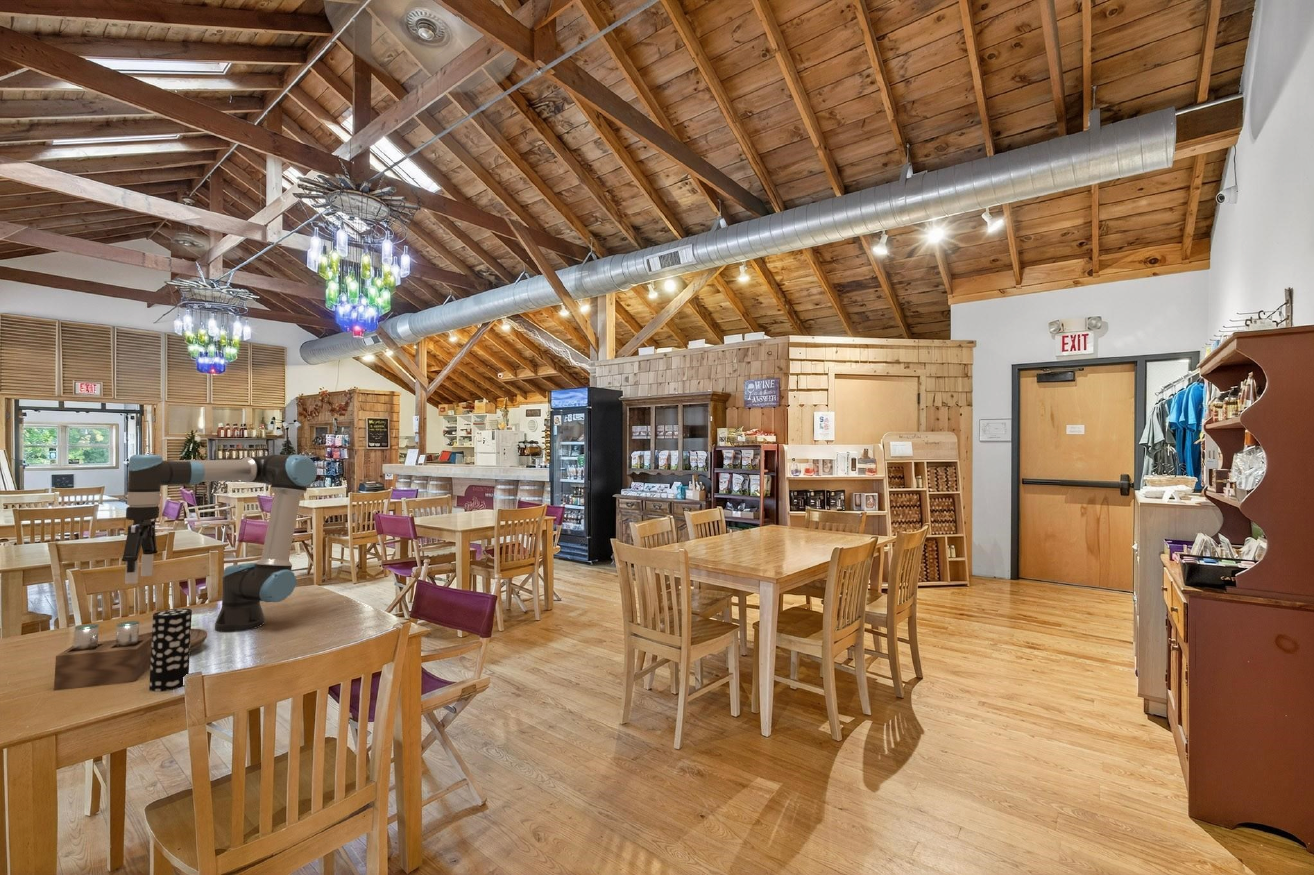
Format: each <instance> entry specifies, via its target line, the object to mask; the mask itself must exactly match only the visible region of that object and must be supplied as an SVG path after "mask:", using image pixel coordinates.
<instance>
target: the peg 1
mask: <svg viewBox="0 0 1314 875" xmlns="http://www.w3.org/2000/svg"><path fill="white" fill-rule="evenodd" d="M99 627H100V624H99V623H88V624H80V625H77V626H75V627H74V640H73V642H74V643H73V645H74V651H86V650H95V649H96V648H98V641H99V629H100V628H99Z"/></svg>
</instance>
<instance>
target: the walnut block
mask: <svg viewBox="0 0 1314 875" xmlns="http://www.w3.org/2000/svg"><path fill="white" fill-rule="evenodd" d="M151 644H152V637H145V638H138V645H137V646H131V647H120V648H116V639H112V640H101V641H99V640H98V648H96V649H95V650H86V651H74V644H73V645H72V646H71V647H68V648H67V649H65V650H64V651H62V652H60V653H58V654H57V655H55V665H54V667H55V668H54V682H53V683H54V684H53V691H59V690H69V689H76V688H77V689H78V688H87V687H96V686H105V685H113V684H114V685H115V684H123V683H133V682H136V681H137V680H138V679H139V678H141V676H143V675H144V674H145V673H146V672H147V671H148V670H150V663H151Z"/></svg>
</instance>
